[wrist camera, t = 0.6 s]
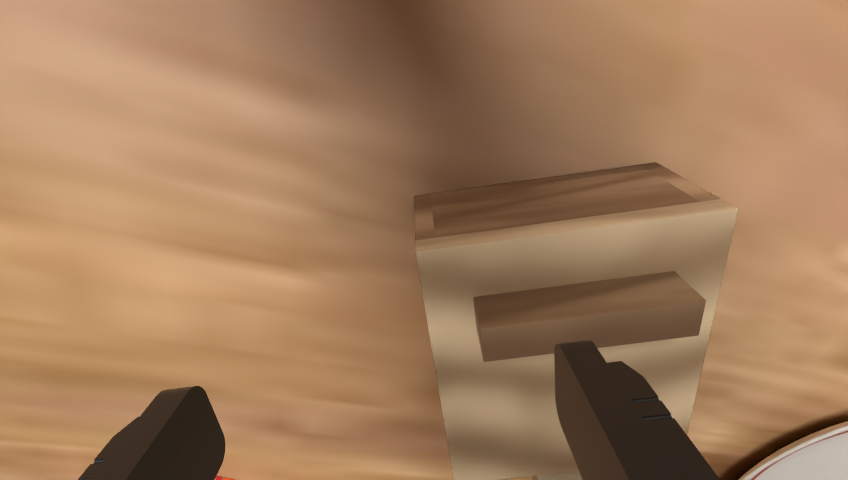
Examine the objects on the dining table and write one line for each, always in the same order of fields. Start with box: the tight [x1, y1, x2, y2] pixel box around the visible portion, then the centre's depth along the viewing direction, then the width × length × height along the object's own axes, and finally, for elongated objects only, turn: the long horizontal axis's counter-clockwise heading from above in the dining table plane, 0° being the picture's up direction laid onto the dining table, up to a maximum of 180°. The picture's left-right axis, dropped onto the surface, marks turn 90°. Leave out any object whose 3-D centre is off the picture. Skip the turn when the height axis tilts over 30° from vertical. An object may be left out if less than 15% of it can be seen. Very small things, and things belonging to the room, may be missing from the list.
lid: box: [415, 199, 738, 480], centre depth 23 cm, size 18×15×4 cm
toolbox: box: [414, 163, 720, 240], centre depth 29 cm, size 24×15×6 cm, turn 8°
